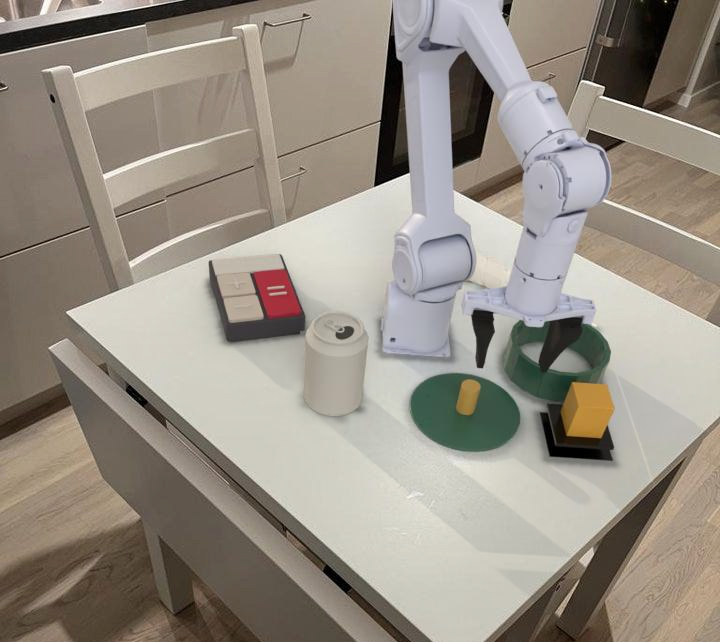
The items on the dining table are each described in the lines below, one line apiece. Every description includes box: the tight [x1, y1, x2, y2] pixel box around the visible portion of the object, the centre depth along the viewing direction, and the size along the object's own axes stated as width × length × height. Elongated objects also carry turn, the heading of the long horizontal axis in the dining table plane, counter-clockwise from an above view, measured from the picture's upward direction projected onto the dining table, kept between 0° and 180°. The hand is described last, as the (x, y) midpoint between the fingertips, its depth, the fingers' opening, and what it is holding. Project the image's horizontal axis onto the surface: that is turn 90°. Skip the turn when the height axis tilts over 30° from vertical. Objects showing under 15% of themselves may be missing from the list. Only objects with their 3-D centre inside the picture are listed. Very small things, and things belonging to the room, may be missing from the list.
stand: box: [539, 403, 615, 462], centre depth 93 cm, size 8×8×2 cm
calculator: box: [208, 253, 306, 343], centre depth 105 cm, size 11×4×15 cm
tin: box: [502, 319, 612, 403], centre depth 100 cm, size 13×13×5 cm
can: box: [303, 310, 369, 417], centre depth 90 cm, size 8×8×12 cm
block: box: [561, 382, 616, 438], centre depth 90 cm, size 4×4×5 cm
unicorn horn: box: [467, 248, 598, 328], centre depth 111 cm, size 5×24×5 cm, turn 54°
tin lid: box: [409, 372, 521, 453], centre depth 93 cm, size 14×14×5 cm
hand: (510, 365), depth 87 cm, fingers open, 7 cm apart
